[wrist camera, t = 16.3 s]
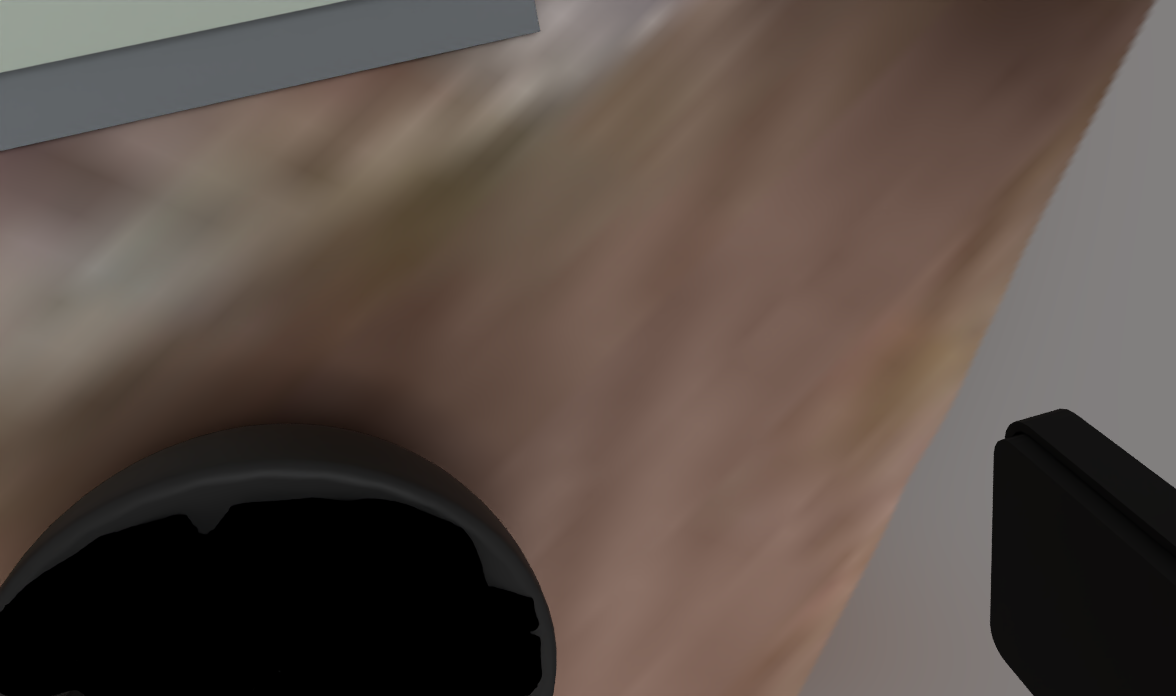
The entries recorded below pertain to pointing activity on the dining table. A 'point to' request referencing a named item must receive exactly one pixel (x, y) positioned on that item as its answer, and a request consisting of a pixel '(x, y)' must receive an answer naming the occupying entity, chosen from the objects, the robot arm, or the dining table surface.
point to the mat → (242, 61)
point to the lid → (116, 24)
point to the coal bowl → (277, 579)
